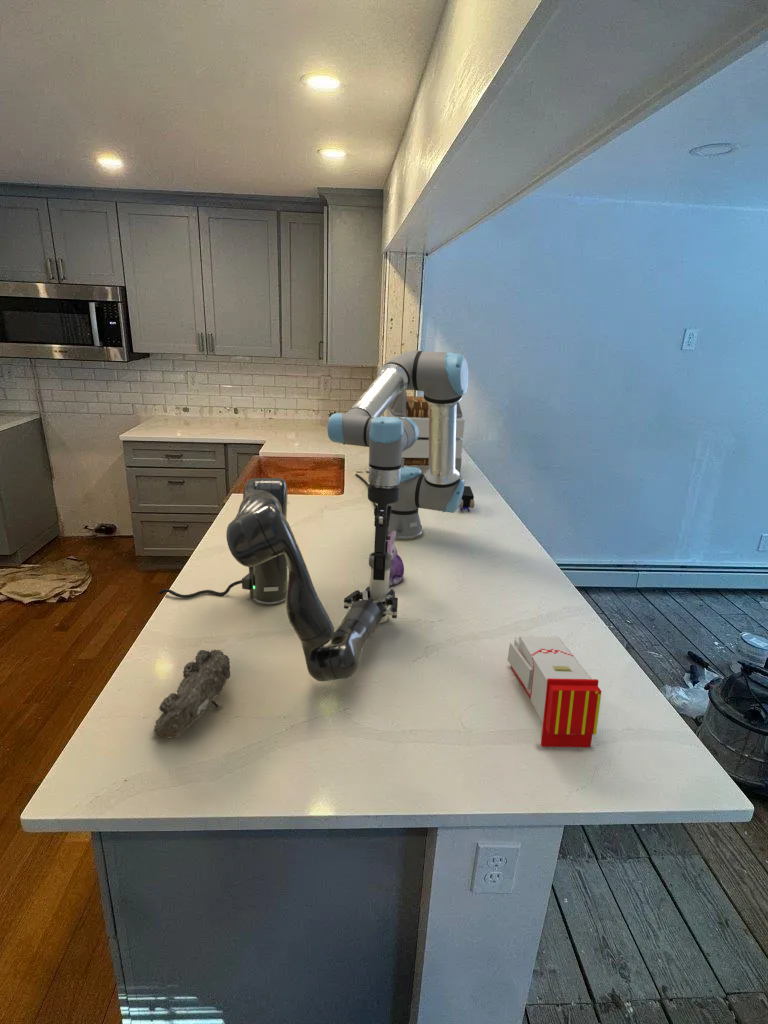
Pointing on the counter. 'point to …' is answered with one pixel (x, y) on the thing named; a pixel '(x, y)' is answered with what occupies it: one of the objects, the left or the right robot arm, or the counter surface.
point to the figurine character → (467, 499)
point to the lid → (387, 561)
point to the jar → (379, 588)
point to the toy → (557, 690)
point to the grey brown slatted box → (422, 429)
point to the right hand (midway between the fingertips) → (380, 571)
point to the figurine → (395, 562)
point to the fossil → (193, 693)
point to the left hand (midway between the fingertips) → (382, 590)
